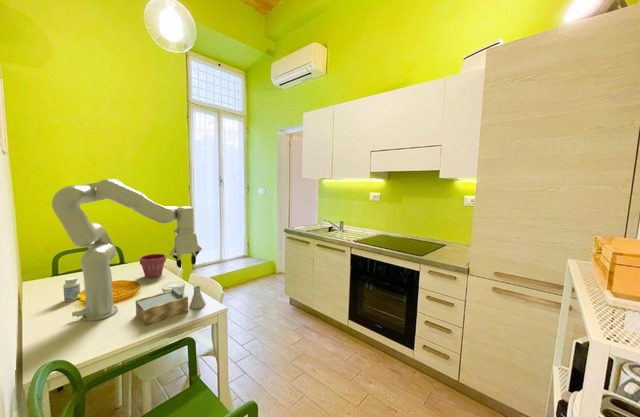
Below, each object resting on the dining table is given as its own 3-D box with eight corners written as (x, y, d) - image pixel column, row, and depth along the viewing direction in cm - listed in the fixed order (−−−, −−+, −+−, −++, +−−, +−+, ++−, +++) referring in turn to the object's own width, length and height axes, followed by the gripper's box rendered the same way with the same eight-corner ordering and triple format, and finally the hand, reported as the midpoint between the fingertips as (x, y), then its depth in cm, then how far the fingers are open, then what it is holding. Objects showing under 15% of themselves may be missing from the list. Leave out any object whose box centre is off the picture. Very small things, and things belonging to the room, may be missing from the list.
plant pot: (170, 271, 175) (170, 253, 174) (159, 279, 161) (158, 260, 160) (148, 271, 174) (148, 253, 173) (135, 279, 160) (134, 259, 159)
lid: (143, 311, 111) (143, 305, 111) (137, 303, 118) (136, 297, 118) (186, 298, 124) (186, 292, 124) (178, 291, 131) (178, 286, 131)
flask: (199, 310, 125) (198, 290, 124) (186, 308, 127) (185, 289, 126) (208, 303, 132) (208, 284, 131) (195, 302, 134) (195, 283, 133)
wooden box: (144, 326, 111) (144, 310, 110) (136, 315, 119) (135, 300, 119) (188, 311, 124) (188, 296, 123) (177, 302, 133) (177, 288, 132)
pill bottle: (61, 301, 130) (59, 279, 129) (75, 296, 136) (74, 275, 135) (69, 303, 129) (67, 281, 127) (83, 297, 134) (82, 277, 133)
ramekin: (164, 300, 134) (163, 291, 133) (160, 293, 142) (159, 284, 142) (187, 295, 141) (187, 286, 141) (182, 288, 150) (182, 279, 149)
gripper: (169, 234, 120) (170, 271, 122) (206, 229, 133) (206, 263, 135) (163, 232, 125) (165, 267, 127) (199, 227, 138) (200, 260, 140)
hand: (186, 265), depth 131 cm, fingers open, 6 cm apart
